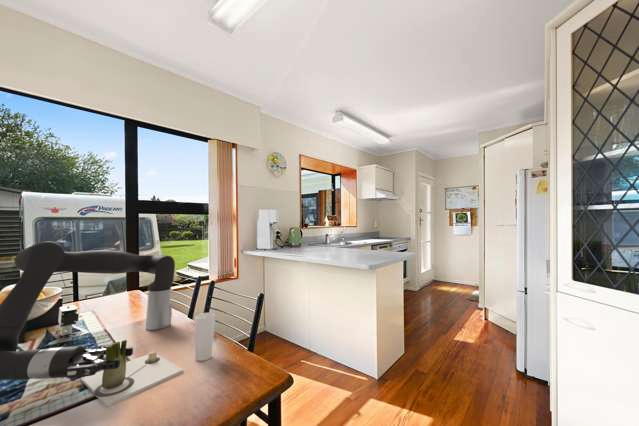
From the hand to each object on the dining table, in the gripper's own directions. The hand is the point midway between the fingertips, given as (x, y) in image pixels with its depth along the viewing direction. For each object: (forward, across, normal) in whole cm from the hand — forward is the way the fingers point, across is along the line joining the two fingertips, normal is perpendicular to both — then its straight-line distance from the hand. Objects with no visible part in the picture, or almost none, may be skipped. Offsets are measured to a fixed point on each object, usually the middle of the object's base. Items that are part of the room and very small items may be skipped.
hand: (125, 357), depth 75 cm
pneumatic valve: (-43, +47, +9) cm, 64 cm away
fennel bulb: (-2, 0, +8) cm, 8 cm away
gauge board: (0, +6, +9) cm, 11 cm away
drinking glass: (+18, +15, +9) cm, 25 cm away
